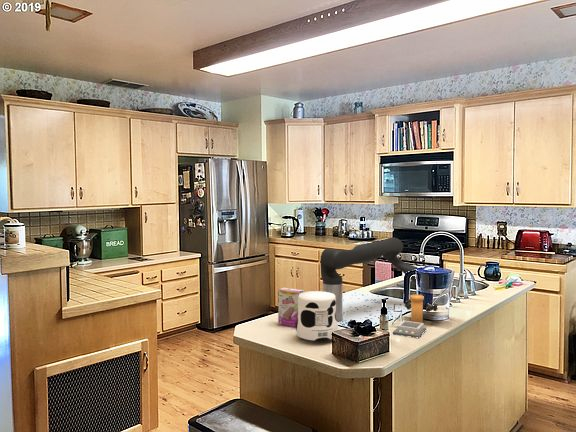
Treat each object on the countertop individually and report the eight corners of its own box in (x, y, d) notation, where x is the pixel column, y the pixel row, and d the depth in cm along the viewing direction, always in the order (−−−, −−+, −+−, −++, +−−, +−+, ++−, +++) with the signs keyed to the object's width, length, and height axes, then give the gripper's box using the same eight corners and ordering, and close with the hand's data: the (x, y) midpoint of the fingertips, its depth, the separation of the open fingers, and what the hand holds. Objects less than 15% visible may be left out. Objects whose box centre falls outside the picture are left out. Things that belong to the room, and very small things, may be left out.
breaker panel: (392, 334, 199) (392, 327, 198) (401, 326, 209) (401, 320, 209) (418, 338, 193) (418, 331, 193) (426, 330, 203) (426, 323, 203)
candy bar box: (277, 325, 212) (277, 289, 211) (283, 322, 217) (283, 287, 215) (299, 328, 207) (299, 292, 205) (304, 325, 211) (304, 289, 210)
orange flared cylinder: (408, 326, 209) (408, 296, 208) (411, 323, 214) (412, 293, 214) (421, 328, 206) (422, 298, 205) (425, 324, 211) (425, 295, 211)
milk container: (312, 329, 206) (312, 288, 205) (346, 337, 195) (346, 294, 194) (287, 339, 193) (287, 296, 191) (321, 348, 182) (321, 302, 180)
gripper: (411, 291, 228) (401, 298, 214) (442, 295, 221) (433, 302, 207) (411, 306, 229) (401, 314, 215) (441, 310, 221) (433, 319, 207)
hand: (417, 308), depth 211 cm, fingers open, 8 cm apart
